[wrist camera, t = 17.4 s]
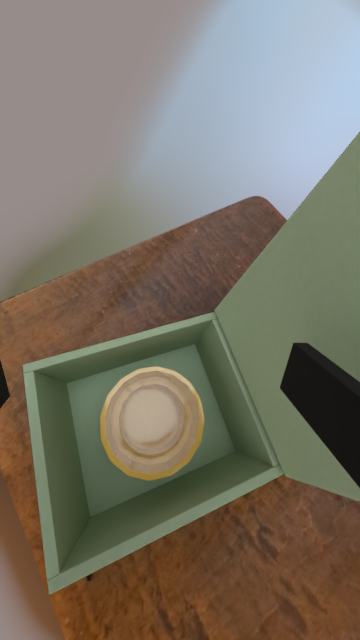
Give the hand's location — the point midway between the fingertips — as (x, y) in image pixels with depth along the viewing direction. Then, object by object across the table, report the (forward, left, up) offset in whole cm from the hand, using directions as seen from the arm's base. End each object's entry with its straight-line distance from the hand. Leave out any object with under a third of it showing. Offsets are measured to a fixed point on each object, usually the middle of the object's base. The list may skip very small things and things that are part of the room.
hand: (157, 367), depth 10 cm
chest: (+1, -2, -20) cm, 21 cm away
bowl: (+1, -2, -20) cm, 20 cm away
